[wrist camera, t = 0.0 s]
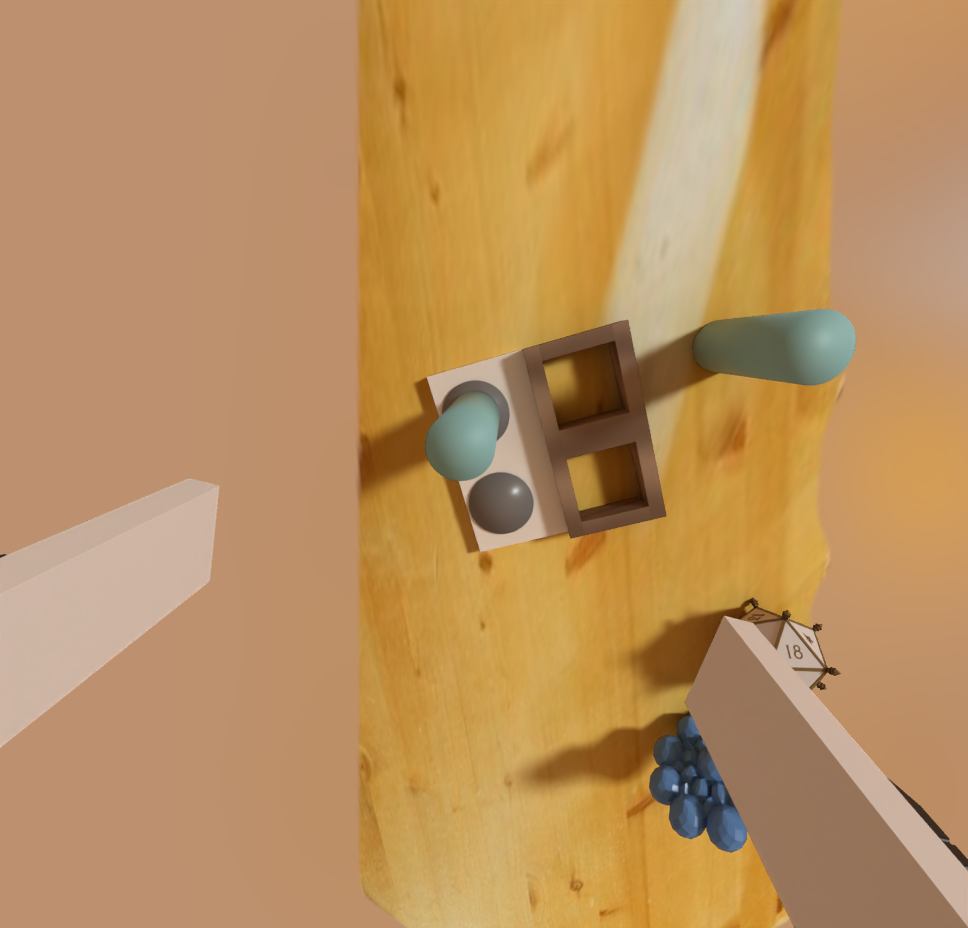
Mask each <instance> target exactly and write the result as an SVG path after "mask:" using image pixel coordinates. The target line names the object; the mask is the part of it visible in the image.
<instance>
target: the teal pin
mask: <svg viewBox="0 0 968 928" xmlns="http://www.w3.org/2000/svg"><path fill="white" fill-rule="evenodd" d="M855 346H856V335H855V331H854V328H853V326H852V324H851V322H850V321H849V320H848V319H847V318H846V317H845V316H844V315H843V314H841V313H839V312H837V311H834V310H830V309H817V310H808V311H798V312H789V313H780V314H771V315H762V316H752V317H743V318H734V319H725V320H717V321H713V322H711V323H709V324H707V325H705V326H704V327H703V328H702V329H701V330H700V331H699V332H698V334H697V335H696V337H695V339H694V342H693V356H694V359H695V361H696V362H697V364H698V365H699V366H700V367H701V368H703V369H705V370H707V371H711V372H717V373H724V374H731V375H738V376H745V377H752V378H759V379H766V380H773V381H780V382H787V383H794V384H801V385H818V384H822V383H825V382H828V381H830V380H832V379H833V378H835V377H836V376H838V375H839V374H840V373H841V372H842V371H843V370H844V369H845V368H846V367H847V365H848V364H849V362H850V360H851V359H852V356H853V354H854V351H855Z"/></svg>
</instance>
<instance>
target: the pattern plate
mask: <svg viewBox="0 0 968 928" xmlns="http://www.w3.org/2000/svg"><path fill="white" fill-rule="evenodd" d="M427 379H428V383H429V386H430V389H431V392H432V396H433V399H434V402H435V405H436V409H437V412H438V415H439V417H440V416H441V415H442V414H443V413H444V412H445V411H446V410H447V409H448V408H449V407H450V406H451V405H452V404H453V402H454V401H455V400H456V399H457V398H458V397H459V396H461V395H462V394H464V393H466V392H468V391H475V390H476V391H482V392H485V393H487V394H489V395H490V396H491V397H492V398H493V399H494V400H495V401H496V403H497V405H498V407H499V411H500V419H499V427H498V434H497V441H496V449H495V455H494V458H493V461H492V463H491V465H490V466H489V468H488V469H487V470H486V471H485V472H484V473H483V474H482V475H480V476H478V477H476V478H474V479H471V480H467V481H459V484H460V487H461V490H462V494H463V497H464V500H465V503H466V507H467V510H468V513H469V516H470V520H471V523H472V526H473V529H474V533H475V536H476V539H477V542H478V546H479V549H480V552H483V551H487V550H491V549H496V548H500V547H504V546H508V545H513V544H517V543H521V542H525V541H530V540H534V539H538V538H542V537H547V536H551V535H555V534H560V533H564V532H568V528H567V524H566V520H565V516H564V512H563V508H562V504H561V500H560V496H559V492H558V488H557V485H556V481H555V477H554V473H553V469H552V465H551V461H550V457H549V453H548V449H547V445H546V441H545V437H544V433H543V429H542V425H541V421H540V417H539V413H538V409H537V405H536V401H535V398H534V394H533V390H532V386H531V382H530V378H529V374H528V370H527V366H526V362H525V358H524V354H523V350H518V351H515V352H511V353H508V354H504V355H501V356H497V357H494V358H490V359H487V360H484V361H480V362H477V363H473V364H470V365H466V366H463V367H459V368H456V369H452V370H449V371H445V372H442V373H438V374H435V375H431V376H428V377H427Z"/></svg>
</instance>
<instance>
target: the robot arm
mask: <svg viewBox="0 0 968 928" xmlns="http://www.w3.org/2000/svg"><path fill="white" fill-rule="evenodd" d="M218 493H219V486H218V485H215V484H211V483H206V482H203V481H199V480H195V479H191V478H188V479H186V480H184V481H181V482H179V483H176V484H174V485H172V486H169V487H167V488H165V489H162V490H160V491H158V492H155V493H153V494H150V495H148V496H146V497H143V498H141V499H139V500H136V501H134V502H131V503H129V504H127V505H124V506H122V507H120V508H117V509H115V510H113V511H110V512H108V513H105V514H103V515H101V516H98V517H96V518H94V519H91V520H89V521H87V522H84V523H82V524H79V525H77V526H75V527H72V528H70V529H68V530H65V531H63V532H61V533H58V534H56V535H54V536H51V537H49V538H46V539H44V540H42V541H39V542H37V543H35V544H32V545H30V546H27V547H25V548H23V549H20V550H18V551H16V552H13V553H11V554H8V555H5V554H3V555H0V747H2V746H3V745H4V744H5V743H7V742H8V741H9V740H10V739H12V738H13V737H14V736H15V735H17V734H18V733H19V732H20V731H22V730H23V729H24V728H25V727H27V726H28V725H29V724H30V723H32V722H33V721H34V720H35V719H37V718H38V717H39V716H41V715H42V714H43V713H44V712H45V711H47V710H48V709H49V708H51V707H52V706H53V705H54V704H56V703H57V702H58V701H59V700H60V699H62V698H63V697H64V696H66V695H67V694H68V693H69V692H71V691H72V690H73V689H74V688H76V687H77V686H78V685H79V684H81V683H82V682H83V681H85V680H86V679H87V678H88V677H90V676H91V675H92V674H93V673H95V672H96V671H97V670H98V669H100V668H101V667H102V666H103V665H105V664H106V663H107V662H108V661H110V660H111V659H112V658H114V657H115V656H116V655H117V654H119V653H120V652H121V651H122V650H124V649H125V648H126V647H127V646H129V645H130V644H131V643H132V642H133V641H135V640H136V639H137V638H139V637H140V636H141V635H142V634H144V633H145V632H146V631H147V630H149V629H150V628H151V627H153V626H154V625H155V624H156V623H157V622H159V621H160V620H161V619H163V618H164V617H165V616H166V615H168V614H169V613H170V612H171V611H173V610H174V609H175V608H176V607H178V606H179V605H180V604H181V603H183V602H184V601H185V600H186V599H188V598H189V597H190V596H192V595H193V594H194V593H195V592H197V591H198V590H199V589H200V588H201V587H203V586H204V585H205V584H207V583H208V582H209V581H210V572H211V562H212V552H213V543H214V533H215V523H216V513H217V502H218ZM685 704H686V706H687V708H688V710H689V712H690V714H691V716H692V718H693V720H694V722H695V724H696V727H697V729H698V731H699V733H700V735H701V737H702V739H703V741H704V743H705V745H706V747H707V749H708V751H709V753H710V755H711V757H712V759H713V762H714V764H715V766H716V768H717V770H718V772H719V774H720V776H721V778H722V780H723V782H724V784H725V786H726V788H727V790H728V792H729V794H730V796H731V799H732V801H733V803H734V805H735V807H736V809H737V811H738V813H739V815H740V817H741V819H742V821H743V823H744V825H745V827H746V829H747V831H748V834H749V836H750V838H751V840H752V842H753V844H754V846H755V848H756V850H757V852H758V854H759V856H760V858H761V860H762V862H763V864H764V866H765V869H766V871H767V873H768V875H769V877H770V879H771V881H772V883H773V885H774V887H775V889H776V891H777V893H778V895H779V897H780V899H781V901H782V904H783V906H784V908H785V910H786V912H787V914H788V916H789V918H790V920H791V922H792V924H793V926H794V928H968V859H967V858H966V857H965V856H964V855H963V854H962V853H961V851H960V850H959V849H958V848H957V847H956V846H955V845H951V844H950V842H949V838H948V837H947V836H946V835H945V834H944V832H943V831H942V830H941V829H940V828H939V826H938V825H937V824H936V823H935V822H934V821H933V820H932V819H931V817H930V816H929V815H928V814H927V813H926V812H925V811H924V810H923V808H922V807H921V806H920V805H918V804H917V803H916V802H915V801H914V800H913V799H912V798H911V797H909V796H908V795H907V794H906V793H905V792H903V791H902V790H901V789H900V788H899V787H898V786H897V785H895V784H894V783H893V782H892V781H891V780H890V779H888V778H887V777H886V776H885V775H884V774H883V773H882V772H881V770H880V769H879V768H878V767H877V766H876V764H875V763H874V762H873V761H872V760H871V759H870V758H869V756H868V755H867V754H866V753H865V752H864V751H863V749H861V747H860V746H859V745H858V744H857V743H856V742H855V740H854V739H853V738H852V737H851V736H850V734H849V733H848V732H847V731H846V730H845V729H844V728H843V726H842V725H841V724H840V723H839V722H838V721H837V719H836V718H835V717H834V716H833V715H832V714H831V713H830V711H829V710H828V709H827V708H826V707H825V706H824V704H823V703H822V702H821V701H820V700H819V699H818V698H817V696H815V694H814V693H813V692H812V691H811V689H810V688H809V687H808V686H807V685H806V684H805V683H804V681H803V680H802V679H801V678H800V677H799V676H798V674H797V673H796V672H795V671H794V670H793V669H792V668H791V666H790V665H789V664H788V663H787V662H786V661H785V659H784V658H783V657H782V656H781V655H780V654H779V653H778V651H777V650H776V649H775V648H774V647H773V646H772V644H771V643H770V642H769V641H768V640H767V639H766V638H765V636H764V635H763V634H762V633H761V632H760V631H759V629H758V628H757V627H756V626H755V625H754V624H753V623H751V622H747V621H743V620H739V619H735V618H731V617H727V616H724V617H723V619H722V621H721V623H720V625H719V628H718V630H717V632H716V634H715V636H714V639H713V641H712V643H711V645H710V647H709V650H708V652H707V654H706V656H705V658H704V661H703V663H702V665H701V667H700V669H699V672H698V674H697V676H696V678H695V680H694V683H693V685H692V687H691V689H690V691H689V694H688V696H687V698H686V700H685Z"/></svg>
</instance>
